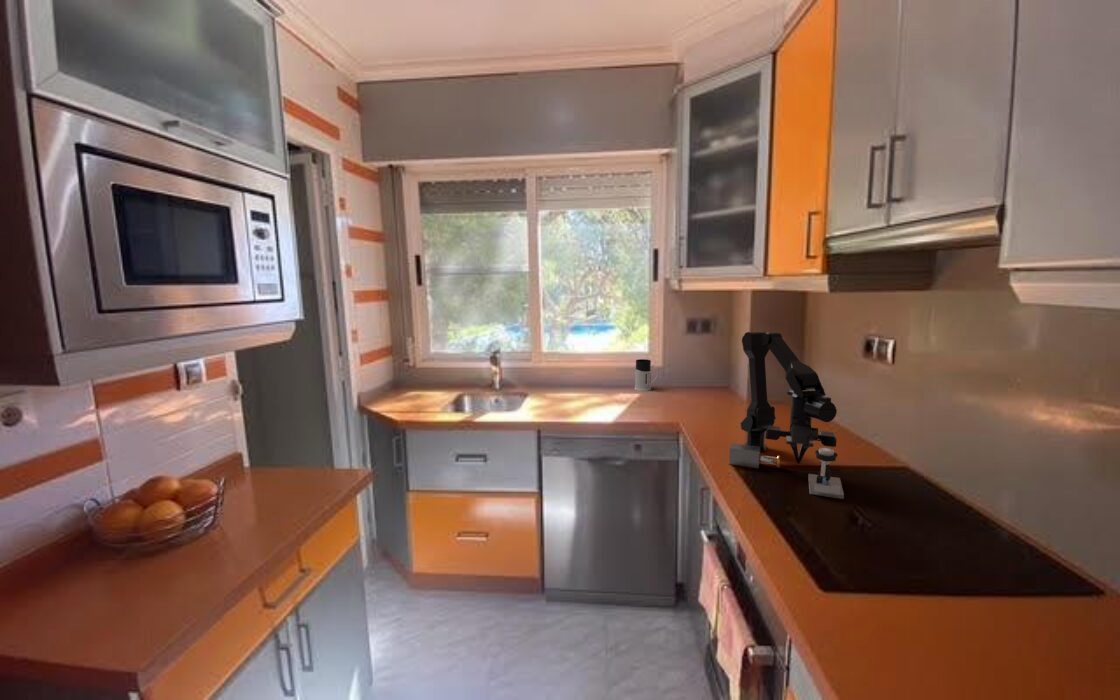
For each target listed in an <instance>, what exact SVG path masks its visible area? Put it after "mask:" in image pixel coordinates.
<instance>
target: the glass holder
mask: <svg viewBox="0 0 1120 700" xmlns="http://www.w3.org/2000/svg"><path fill="white" fill-rule="evenodd" d="M651 362H652V361H651V360H650V359H646V358H644V359H643V358H641V359H636V360H635V374H634V375H635V382H634V384H635V385H634V389H633V390H635V391H638V392H639V391H640V392H647V391H651V390H652V387H651V385H652V384H653V383H654V382H655V381H656V380H657V377H658V376H659V372H660V371H659V366H658V365H657V364H652V363H651ZM653 367H656V369H657V370H656V376H655V378H654V379H653V380H652V379H651V377H652V372H653ZM651 380H652V381H651Z"/></svg>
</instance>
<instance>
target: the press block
mask: <svg viewBox="0 0 1120 700" xmlns="http://www.w3.org/2000/svg"><path fill="white" fill-rule="evenodd" d="M759 455H761V451H760V447H758V446H750V445H745V444H741V443H740V444H739V443H731V444H730V447H729V462H728V464H729V465H732V466H738V467H746V468H752V469H753V468H755V469H759V468H760V462H759Z"/></svg>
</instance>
